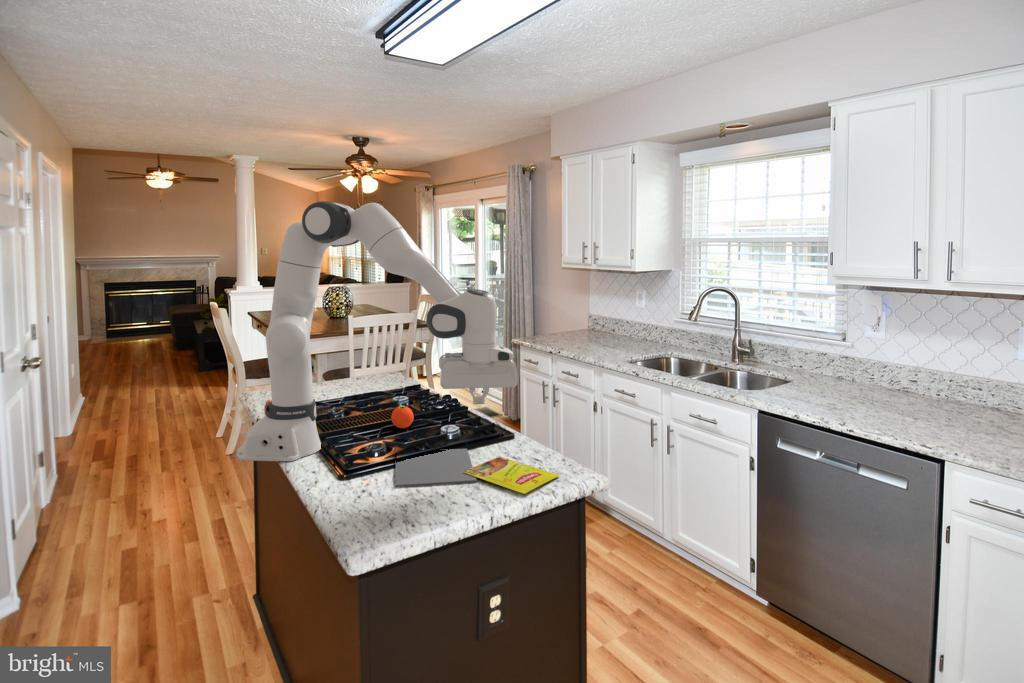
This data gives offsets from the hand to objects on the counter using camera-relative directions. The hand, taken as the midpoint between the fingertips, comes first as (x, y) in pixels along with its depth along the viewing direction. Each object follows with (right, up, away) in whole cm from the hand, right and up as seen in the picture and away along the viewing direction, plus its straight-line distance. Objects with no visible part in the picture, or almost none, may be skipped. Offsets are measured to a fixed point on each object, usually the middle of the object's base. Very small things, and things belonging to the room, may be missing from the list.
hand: (478, 403), depth 164 cm
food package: (+1, -16, +3) cm, 17 cm away
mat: (-12, -17, +1) cm, 21 cm away
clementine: (-26, -11, +33) cm, 43 cm away
